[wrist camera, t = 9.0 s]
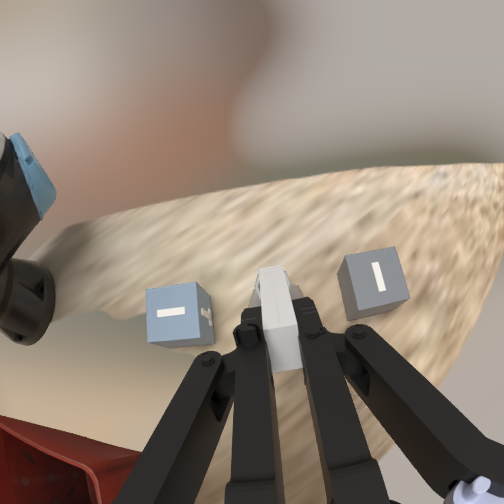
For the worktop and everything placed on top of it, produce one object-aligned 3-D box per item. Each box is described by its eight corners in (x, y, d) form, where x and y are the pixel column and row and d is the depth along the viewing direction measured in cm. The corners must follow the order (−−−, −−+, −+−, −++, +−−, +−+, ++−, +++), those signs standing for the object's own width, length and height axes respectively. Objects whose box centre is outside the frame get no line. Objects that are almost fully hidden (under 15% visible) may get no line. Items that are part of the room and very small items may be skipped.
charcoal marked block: (347, 321, 32) (358, 310, 27) (336, 274, 35) (345, 255, 29) (393, 310, 32) (411, 297, 26) (381, 265, 34) (396, 245, 29)
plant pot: (79, 512, 23) (8, 536, 7) (65, 411, 31) (-23, 408, 15) (189, 547, 21) (137, 609, 6) (177, 435, 29) (95, 469, 13)
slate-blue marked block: (169, 348, 33) (146, 342, 28) (166, 302, 36) (145, 288, 30) (216, 343, 33) (201, 337, 28) (211, 296, 36) (196, 281, 30)
